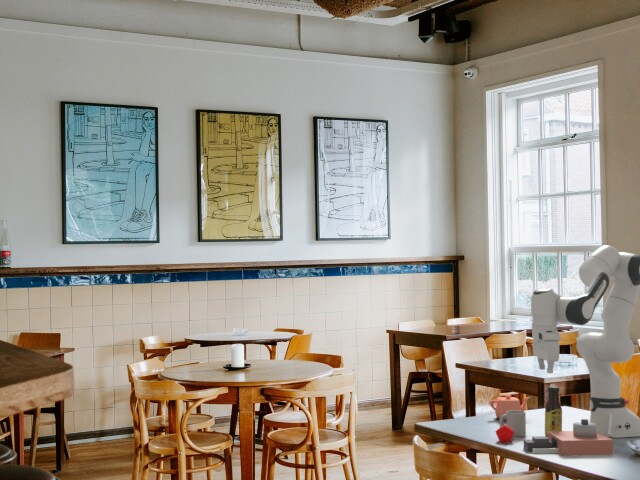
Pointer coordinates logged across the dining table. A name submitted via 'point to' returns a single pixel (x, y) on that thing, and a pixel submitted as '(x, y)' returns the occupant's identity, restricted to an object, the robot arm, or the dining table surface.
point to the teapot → (507, 405)
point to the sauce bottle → (553, 411)
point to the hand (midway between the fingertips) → (546, 371)
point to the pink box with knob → (579, 441)
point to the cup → (515, 422)
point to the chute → (537, 443)
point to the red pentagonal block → (505, 434)
